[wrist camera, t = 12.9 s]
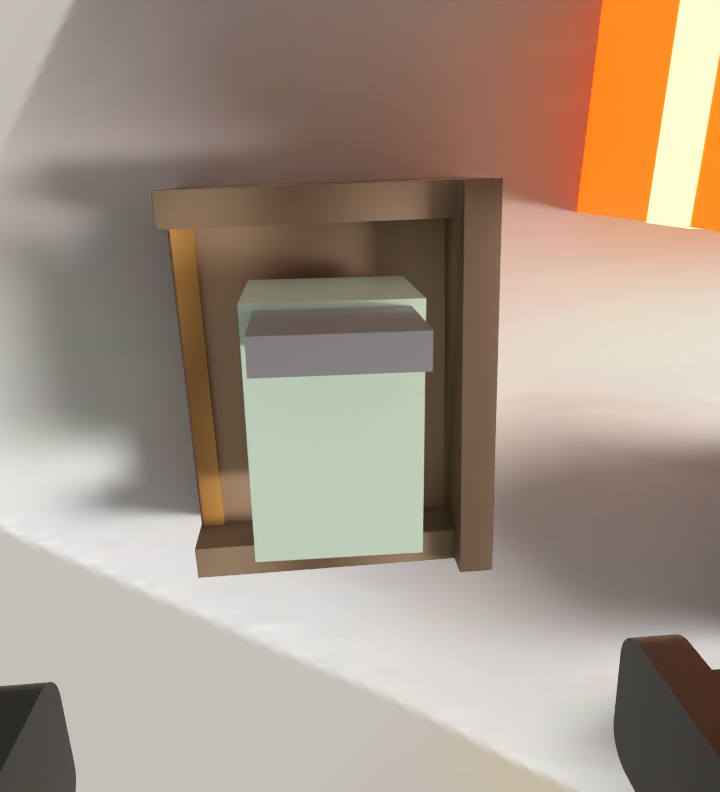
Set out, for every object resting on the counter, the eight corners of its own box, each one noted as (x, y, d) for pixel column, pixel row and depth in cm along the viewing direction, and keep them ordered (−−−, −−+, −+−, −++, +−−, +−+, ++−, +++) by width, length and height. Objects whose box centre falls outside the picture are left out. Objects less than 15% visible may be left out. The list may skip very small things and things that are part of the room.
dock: (459, 177, 27) (502, 178, 22) (456, 498, 32) (491, 569, 26) (177, 188, 27) (144, 191, 21) (213, 515, 31) (194, 592, 25)
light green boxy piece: (395, 268, 25) (450, 321, 16) (395, 470, 28) (443, 613, 19) (251, 272, 25) (225, 328, 16) (264, 477, 27) (248, 626, 18)
